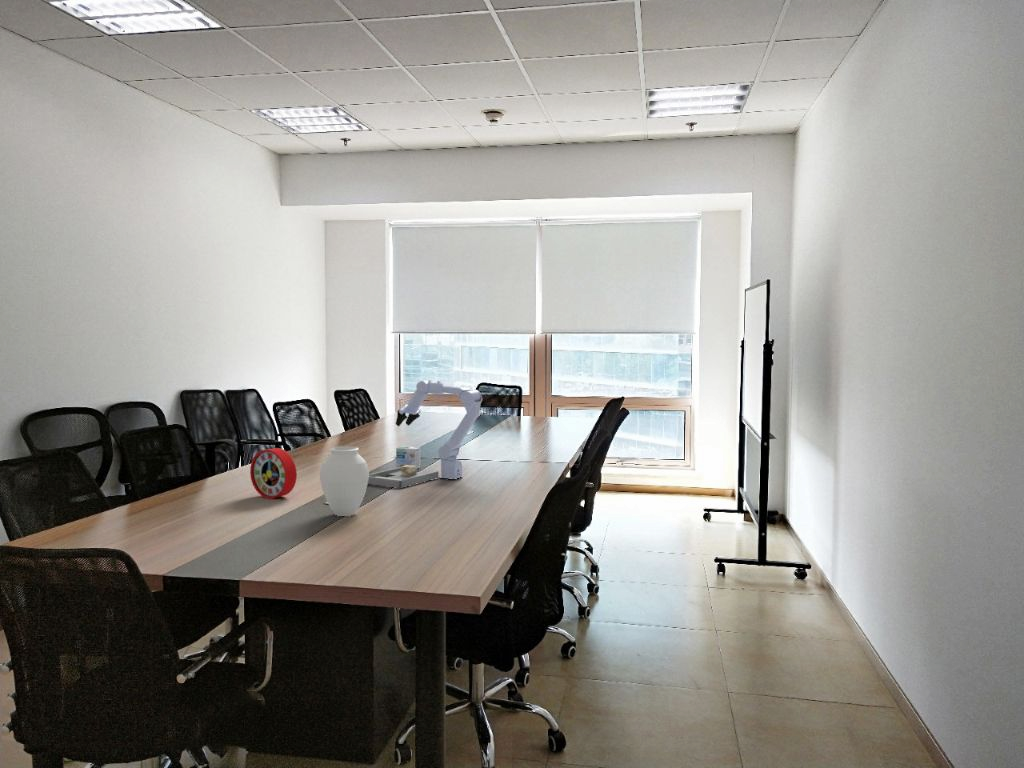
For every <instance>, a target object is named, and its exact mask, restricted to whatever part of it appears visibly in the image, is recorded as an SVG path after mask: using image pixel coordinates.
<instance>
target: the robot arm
mask: <svg viewBox="0 0 1024 768" xmlns="http://www.w3.org/2000/svg"><path fill="white" fill-rule="evenodd" d="M415 388H416V389H415V391H414V393H413V394H412V396H411V397H410V399H409V401H408V403H407V404H404V405H403V407H402V408H400V409H397V411H396V412H397V415H396V420H395V421H396V422H395V425H396V426H397V427H400V426H401V425H402V424H403V422H404V421H405V424H406V425H407V426H410V425H411V424H413V422H414V421H416V420H417V419H418V418H420V413H421V412H422V411H423V410H422V409H421V406H422V404H423V403H424V401H425V399H426V397H427V395H428V394H433V395H440V396H442V395H444V394H451V395H456V396H457V399H460V401H461V404H462V406H463V407H464V408H465V412H466V413H465V415H464V416H463V418H462V419H461V421H460V423H458V426H457V428H456V429H455V431H453V433H452V435H451V437H450V438H449V439H448V440H447V441H446V442H444V444H442V446H440V447H439V448H438V451H437V454H438V457H439V458H440V476H438V479H440V478H441V477H442V478H452V479H455V478H459V477H463V464H462V461H461V460H460V459H459V460H458V459H457V457H458V456H459V453H460V449H461V447H462V446H461V443H462V442H463V440H464V439H465V437H466V436H467V434H468V433H469V431H470V430H471V428H472V426H473V425H474V424H475V422H476V421H477V418H478V417H479V415H480V413H481V404H482V402H483V396H482V394H481V392H480V391H479V390H478V389H472V388H468V387H461V386H452V385H451V386H450V385H449V386H448V385H445V383H443V382H442V381H441V380H437V381H432V380H430V379H429V380H421V381H418V382H417V383H416V387H415ZM407 414H408V416H407ZM439 477H440V478H439ZM459 479H460V478H459Z"/></svg>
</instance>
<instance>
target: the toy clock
mask: <svg viewBox="0 0 1024 768" xmlns="http://www.w3.org/2000/svg"><path fill="white" fill-rule="evenodd" d="M249 469H250V470H249V471H250V473H249V474H250V475H249V477H250V480H251V483H252V486H253V488H254V490H255V491H256V492H257V493H258V494H259V495H260V496H261V497H263V498H265V499H270V498H272V499H276V498H279V497H284V496H287V495H289V494H290V493H291V492H292V491H293V489H294V487H295V485H296V482H297V467H296V463H295V461H294V459H293V457H292V455H291V454H290V453H289V452H288V451H286V450H285V449H283V448H281V447H280V448H279V447H273V448H269V449H268V448H267V449H264V450H263V449H262V450H260V451H259V452H258V453H256V454H255V455H254V457H252V460H251V463H250V468H249Z"/></svg>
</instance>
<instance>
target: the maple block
mask: <svg viewBox="0 0 1024 768" xmlns="http://www.w3.org/2000/svg"><path fill="white" fill-rule="evenodd" d="M417 470H418V469H417V466H412V465H406V466H402V467H401V475H405V476H413V475H417V472H418V471H417Z"/></svg>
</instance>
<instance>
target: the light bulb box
mask: <svg viewBox="0 0 1024 768" xmlns="http://www.w3.org/2000/svg"><path fill="white" fill-rule="evenodd" d="M395 449H396V452H395V453H396V455H395V463H396V464H395V466H396V467H395V468H399V467H402V466H406V465H412V466H417V468H419V467H420V468H421V446H406V445H401V446H398V447H396V448H395ZM420 468H419V469H420Z"/></svg>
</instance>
